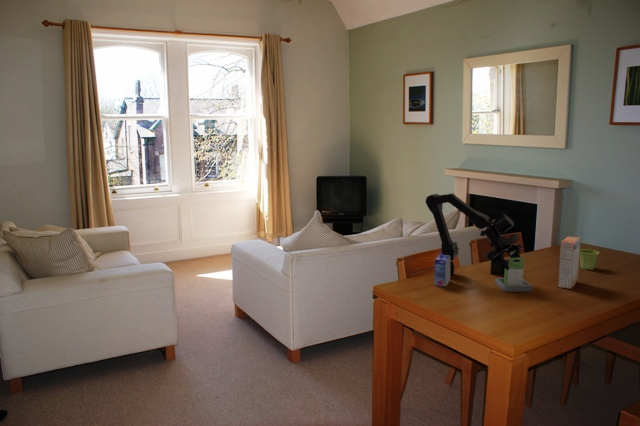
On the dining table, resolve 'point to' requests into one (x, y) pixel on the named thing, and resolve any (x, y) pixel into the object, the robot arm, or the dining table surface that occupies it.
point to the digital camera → (498, 268)
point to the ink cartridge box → (442, 270)
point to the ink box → (514, 272)
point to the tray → (513, 286)
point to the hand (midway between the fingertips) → (515, 267)
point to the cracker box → (569, 262)
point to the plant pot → (588, 258)
